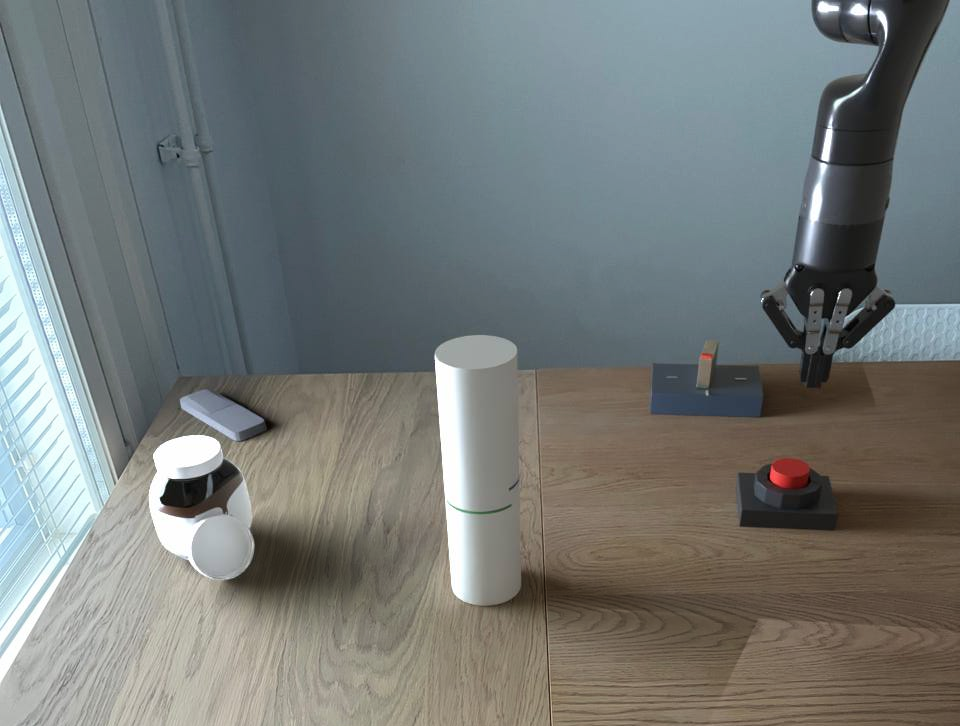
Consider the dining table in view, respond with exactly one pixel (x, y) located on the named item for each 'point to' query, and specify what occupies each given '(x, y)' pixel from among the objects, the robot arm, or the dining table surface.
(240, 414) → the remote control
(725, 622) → the dining table surface
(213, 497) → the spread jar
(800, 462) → the button
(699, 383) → the beige rectangular block
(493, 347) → the cylindrical container
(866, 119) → the robot arm
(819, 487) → the button box
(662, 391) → the switch panel
